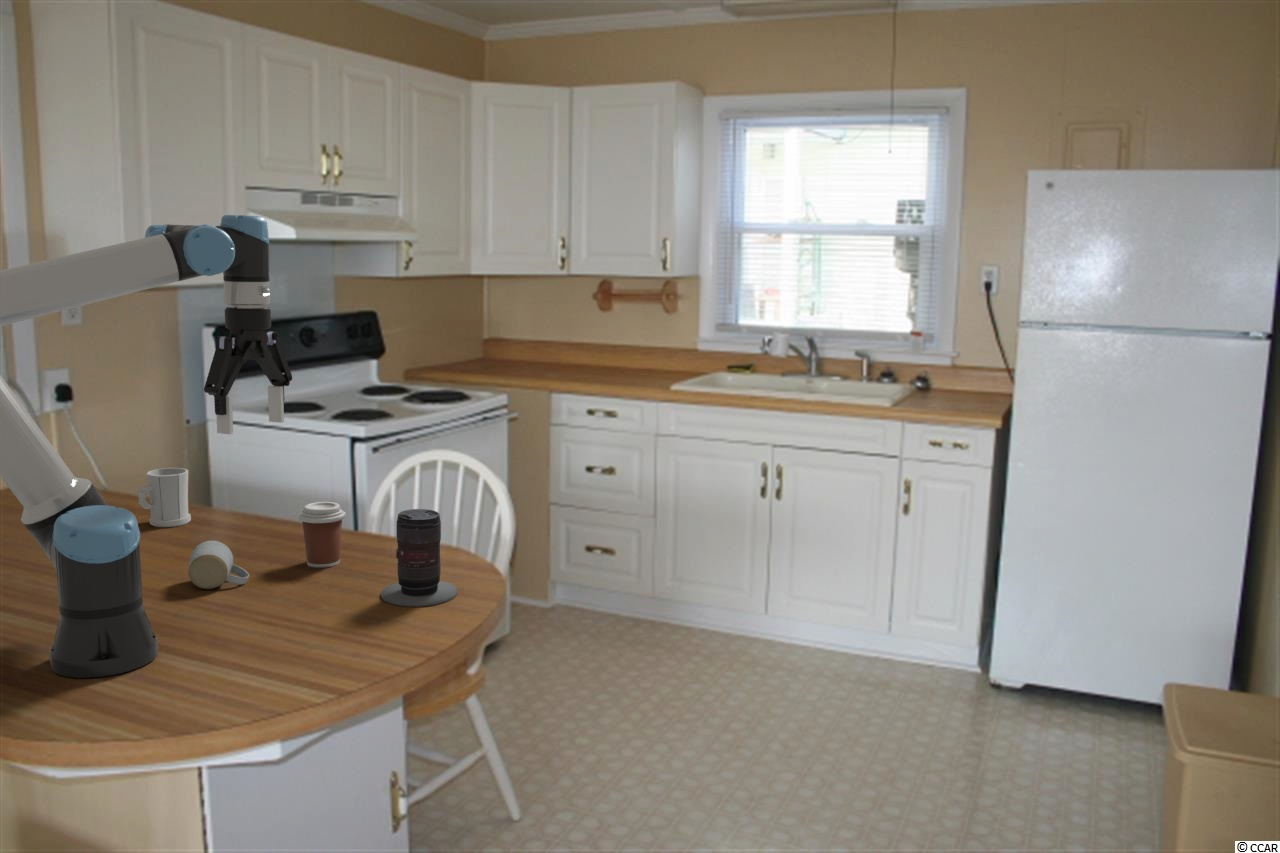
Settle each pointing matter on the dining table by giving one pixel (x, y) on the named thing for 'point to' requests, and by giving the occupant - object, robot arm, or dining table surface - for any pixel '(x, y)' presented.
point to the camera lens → (418, 551)
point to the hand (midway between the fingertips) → (251, 427)
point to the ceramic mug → (214, 566)
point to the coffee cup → (322, 533)
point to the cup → (166, 497)
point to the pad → (396, 596)
